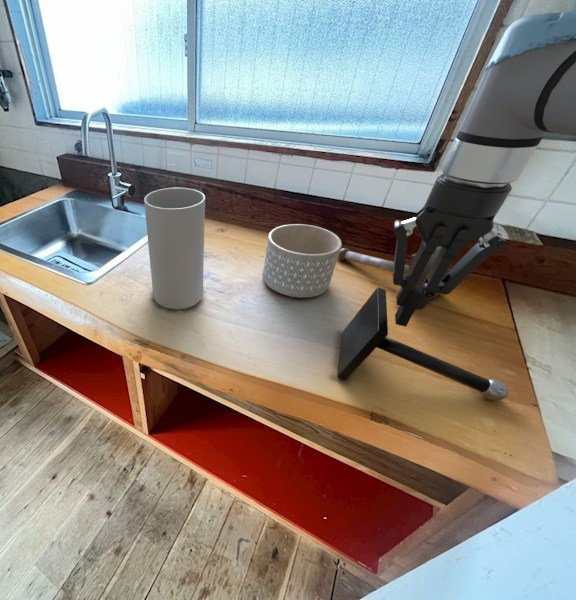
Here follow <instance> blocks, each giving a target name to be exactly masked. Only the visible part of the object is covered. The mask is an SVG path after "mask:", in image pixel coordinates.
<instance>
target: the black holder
mask: <svg viewBox="0 0 576 600" xmlns="http://www.w3.org/2000/svg"><path fill="white" fill-rule="evenodd" d="M388 329H389V326H388V306H387V290H386V289H384V288H382V287H379V286H377V287H376V288H375V290H374V291H373V292H372V293H371V294H370V296H369V297H368V298H367V300H366V301H365V303H364V304H363V305H362V307H361V308H360V309H359V310H358V312H357V313H356V314H355V315H354V317H353V318H352V319H351V320H350V321H349V323H348V324H347V326H346V327H345V328H344V329H343V331H342V332H341V337H340V347H339V355H338V365H337V374H336V378H338V379H340V380H342V381H344V382H346V380H348V379H349V377H350V376H351V375H352V374H353V373H354V372H355V371H356V370H357V369H358V368H359V366H360V365H361V364H363V362H364V361H365V360H366V359H367V358H368V357H369V356H370V355H371V353H373V352H374V350H376V348H377V349H379V350H382V351H383V352H386V353H389V354H391V355H393V356H396V357H398V358H401V359H403V360H405V361H408V362H410V363H412V364H414V365H417V366H419V367H422V368H423V369H426V370H428V371H431V372H433V373H436V374H437V375H440V376H443V377H444V378H447V379H449V380H452V381H454V382H457V383H459V384H460V385H464V386H466V387H467V388H470V389H473V390H474V391H477V392H479V394H480V395H481V396H482V397H483V398H485V399H487V400H489V401H495V402H497V401H502V400H504V399H506V398H507V396H508V395H509V389H508V386H507V385H506V383H504V382H503V381H501V380H499V379H497V378H491V377H490V378H485V377H483V376H481V375H478V374H476V373H474V372H471V371H468V370H466V369H464V368H461V367H460V366H457V365H455V364H452V363H449V362H448V361H445V360H443V359H440V358H438V357H435V356H433V355H431V354H429V353H426V352H423V351H421V350H419V349H416V348H414V347H412V346H409V345H406V344H404V343H402V342H399V341H397V340H395V339H393V338H390V337H388V335H389V330H388Z"/></svg>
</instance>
